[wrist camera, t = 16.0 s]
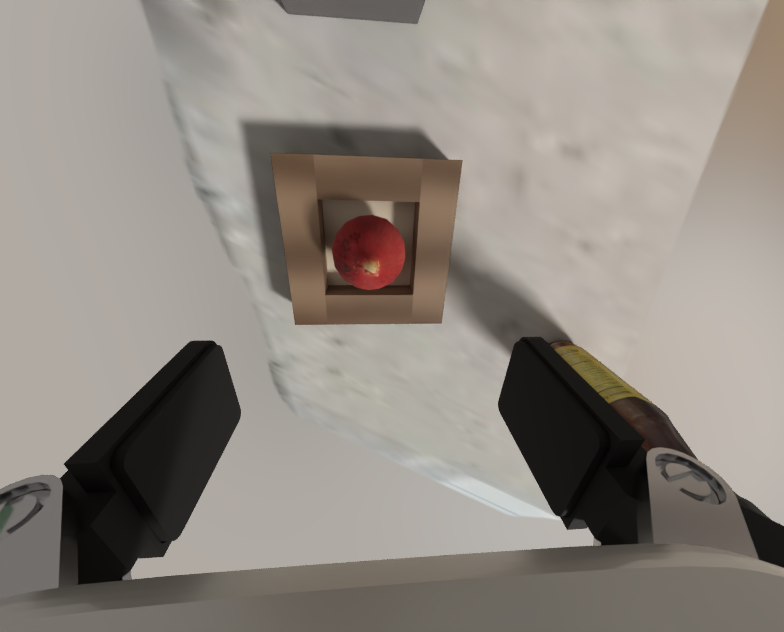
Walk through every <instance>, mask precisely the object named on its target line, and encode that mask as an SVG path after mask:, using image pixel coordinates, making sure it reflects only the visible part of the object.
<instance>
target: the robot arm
mask: <svg viewBox="0 0 784 632" xmlns="http://www.w3.org/2000/svg"><path fill="white" fill-rule="evenodd" d="M498 407H499V411H500V414H501V415H502V417H503V419H504V421H505V423H506V425H507V427H508V429H509V431H510V432H511V434H512V436H513V438H514V440H515V442H516V444H517V446H518V447H519V449H520V451H521V453H522V455H523V457H524V459H525V461H526V462H527V464H528V466H529V468H530V470H531V472H532V474H533V476H534V478H535V479H536V481H537V483H538V485H539V487H540V489H541V491H542V493H543V494H544V496H545V498H546V500H547V502H548V504H549V506H550V508H551V509H552V511H553V512H554V514H555V515H557V516H560V517H561V519H562V521H563V523H564V525H565V526H566V528H567V530H569V529H584V528H587V527H588V528H589V530H590V531H591V533H592V534H593V536H594V542H593V543H594V544H593V546H580V547H562V548H548V549H532V550H518V551H503V552H488V553H473V554H458V555H443V556H430V557H416V558H401V559H387V560H373V561H360V562H346V563H333V564H319V565H305V566H292V567H279V568H268V569H267V568H266V569H254V570H240V571H227V572H214V573H202V574H189V575H176V576H165V577H155V578H144V579H134V580H132V578H131V569H132V567H133V566H134V564H135V562H136V560H137V559H138V558H152V557H163V556H164V555H165V553H166V551H167V549H168V547H169V545H170V543H171V541H174V540H176V539H177V538H178V537H179V536H180V535H181V533H182V531H183V529H184V527H185V525H186V523H187V522H188V520H189V518H190V516H191V514H192V512H193V510H194V508H195V506H196V504H197V502H198V500H199V498H200V496H201V494H202V492H203V490H204V488H205V486H206V484H207V482H208V480H209V479H210V477H211V475H212V473H213V471H214V469H215V467H216V465H217V463H218V461H219V459H220V457H221V455H222V453H223V451H224V449H225V447H226V445H227V444H228V441H229V439H230V437H231V435H232V434H233V432H234V430H235V428H236V426H237V424H238V422H239V420H240V416H241V409H240V405H239V402H238V399H237V395H236V392H235V389H234V386H233V382H232V379H231V375H230V372H229V369H228V365H227V362H226V359H225V355H224V352H223V349H222V347H221V346H220V345H217V344H216V343H215V342H214V341H191V342H189V343H188V344H187V345H186V346H185V347H184V348H183V349H182V350H180V352H178V353H177V354H176V355H175V356H174V357H173V358H172V359H171V360H170V361H169V362H168V363H167V364H166V365H165V366H164V367H163V368H162V369H161V370H160V371H159V372H158V373H157V374H156V375H155V376H154V377H153V378H152V379H151V380H150V381H149V382H148V383H147V384H146V385H145V386H143V387H142V388H141V389H140V390H139V391H138V392H137V393H136V394H135V395H134V396H133V397H132V398H131V399H130V400H129V401H128V402H127V403H126V404H125V405H124V406H123V407H122V408H121V409H120V410H119V411H118V412H117V413H116V414H115V415H114V416H113V417H112V418H110V420H108V421H107V422H106V423H105V424H104V425H103V426H102V427H101V428H100V429H99V430H98V431H97V432H96V433H95V434H94V435H93V436H92V437H91V438H90V439H89V440H88V441H87V442H86V443H85V444H84V445H83V446H82V447H81V448H80V449H79V450H78V451H77V452H75V453H74V454H73V455H72V456H71V457H70V458H69V459H68V460H67V461H66V462H65V463H64V465H65V466H66V468H67V469H68V471H67V472H66V473H65V474H64V475H63V476H62V477H61V478H57V477H56V476H54V475H40V476H35V477H30V478H26V479H24V480H21V481H18V482H15V483H13V484H10V485H8V486H6V487H4V488H2V489H0V632H784V526H782V525H780V524H778V523H776V522H774V521H772V520H770V519H768V518H766V517H764V516H762V515H760V514H758V513H756V512H754V511H752V510H749V509H747V508H745V507H743V506H741V505H739V503H738V500H737V497H736V496H735V494H734V492H733V490H732V488H731V487H730V486H729V485H728V484H727V483H726V482H725V481H724V479H723V478H722V477H720V476H719V475H718V474H717V473H716V472H714V471H713V470H712V469H711V468H709V467H708V466H706V465H705V464H703V463H702V462H700V461H698V460H697V459H695V458H693V457H691V456H689V455H687V454H685V453H682V452H679V451H676V450H673V449H668V448H661V447H660V448H652V449H651V450H650V451H648V452H647V451H646V450H645V449H644V448H643V447H642V446H641V445H642V444H643V442H644V441H645V439H644V438H643V437H642V436H641V435H640V434H639V433H638V432H637V431H636V430H635V429H634V428H633V427H632V426H631V425H630V424H629V423H628V422H627V421H626V420H625V419H624V418H623V417H622V416H621V415H620V414H619V413H618V412H617V411H616V410H615V409H614V408H613V407H612V406H611V405H610V404H609V403H608V402H607V401H606V400H605V399H604V398H603V397H602V396H601V395H600V394H599V393H598V392H597V391H596V390H595V389H594V388H593V387H592V386H591V385H590V384H589V383H588V382H587V381H586V380H585V379H584V378H582V377H581V376H580V375H579V374H578V373H577V372H576V371H575V370H574V369H573V368H572V367H571V366H570V365H569V364H568V363H567V362H566V361H565V360H564V359H563V358H562V357H561V356H560V355H559V354H558V353H557V352H556V351H555V350H554V349H553V348H552V347H551V346H550V345H549V344H548V343H547V342H546V341H545V340H544V339H543V338H541V337H522V338H521V339H520V340H519V341H518V342H516V343H515V344H514V347H513V351H512V355H511V358H510V362H509V365H508V369H507V372H506V376H505V380H504V383H503V387H502V390H501V394H500V398H499V401H498Z"/></svg>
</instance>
